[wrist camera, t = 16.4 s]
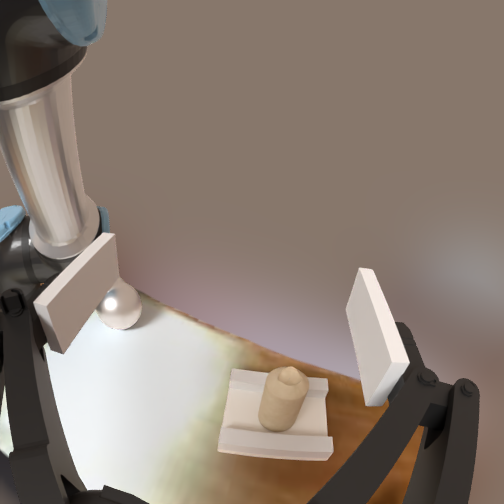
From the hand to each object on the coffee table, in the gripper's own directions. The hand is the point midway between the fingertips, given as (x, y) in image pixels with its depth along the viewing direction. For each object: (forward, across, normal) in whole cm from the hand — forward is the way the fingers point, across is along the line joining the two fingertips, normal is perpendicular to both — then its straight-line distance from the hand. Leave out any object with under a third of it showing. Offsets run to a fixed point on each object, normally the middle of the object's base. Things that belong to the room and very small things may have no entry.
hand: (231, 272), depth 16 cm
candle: (+12, +7, -31) cm, 34 cm away
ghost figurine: (+27, -23, -32) cm, 48 cm away
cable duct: (+12, +7, -32) cm, 35 cm away
